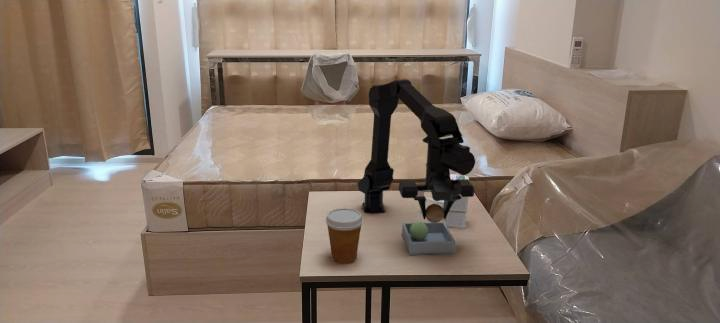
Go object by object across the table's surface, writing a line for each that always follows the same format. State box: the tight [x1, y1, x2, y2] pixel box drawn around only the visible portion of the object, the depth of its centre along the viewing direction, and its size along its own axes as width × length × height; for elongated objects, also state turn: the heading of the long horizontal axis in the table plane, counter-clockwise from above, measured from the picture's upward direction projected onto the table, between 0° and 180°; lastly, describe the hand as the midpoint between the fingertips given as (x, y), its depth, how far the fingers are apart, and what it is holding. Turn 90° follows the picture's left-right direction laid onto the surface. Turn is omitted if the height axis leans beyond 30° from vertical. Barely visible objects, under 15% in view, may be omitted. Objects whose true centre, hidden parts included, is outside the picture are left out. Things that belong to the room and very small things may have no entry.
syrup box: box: [445, 173, 470, 229], centre depth 155 cm, size 6×6×14 cm
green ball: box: [410, 221, 428, 240], centre depth 146 cm, size 5×5×5 cm
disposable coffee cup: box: [324, 207, 364, 264], centre depth 135 cm, size 10×10×12 cm
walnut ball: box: [425, 203, 444, 223], centre depth 140 cm, size 5×5×5 cm
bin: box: [401, 221, 457, 256], centre depth 144 cm, size 12×12×4 cm
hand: (434, 218), depth 141 cm, fingers closed on walnut ball, 5 cm apart
